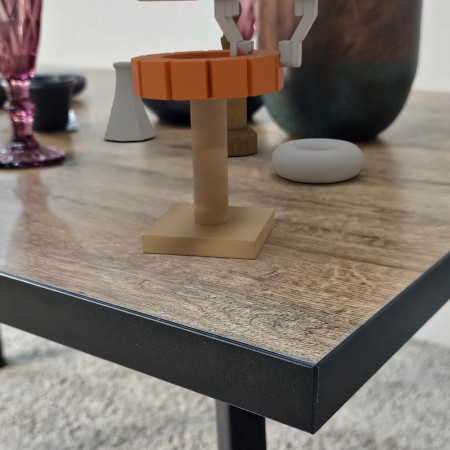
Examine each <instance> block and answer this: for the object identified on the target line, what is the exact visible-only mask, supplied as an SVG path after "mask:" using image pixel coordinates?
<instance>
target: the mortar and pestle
mask: <svg viewBox="0 0 450 450" xmlns="http://www.w3.org/2000/svg"><path fill="white" fill-rule="evenodd" d="M242 13H243V7H242V2H241V0H239V15H238V16H234V17H232V19H233V21H234V23H235V24H236V26H237V25H238V23H239V20H240V19H241V16H242ZM219 41H220V45H221V50H230V42H228V40H227V39H226V37H225V35H224V33H223V32H222V36H221V37H220V40H219ZM247 109H248V108H247V97H242V98H229V99H227V153H228V157H241V156H249V155H253V154H255V153H257V152H258V151H259V150H258V148H259V147H258V132H257V131H255V130H254V129H253V127H252V126H250V125H248V118H247V117H248V116H247V114H248V113H247V111H248V110H247Z"/></svg>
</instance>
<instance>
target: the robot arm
mask: <svg viewBox="0 0 450 450" xmlns="http://www.w3.org/2000/svg"><path fill="white" fill-rule="evenodd" d="M136 1H137V2H185V1H186V2H189V1H192V2H193V1H195V2H196V0H136ZM239 1H240V0H213V9H214V11H213V14H214V15H213V17H214V19H215V21H216V23H217V24H218V26H219V28H220V30H221V32H222V34H223V33H224V35H225V37H226V39H227V40H228V42H230V57H236V56H245V55H251V54H252V52H253V51H254V50H255V40H244V38H243V36H242V34H241V32H240V30H239V28H238V26H237V25H236V24H235V23H234V21H233V19H232V17H234V16H238V15H239ZM318 9H319V0H294V16H296V17H302V18H301V20H300V21H299V23H298V25H297V26H296V29H295V30H294V33H293V34H292V36H291V38H290V40H289V39H287V40H286V39H284V40H283V39H282V40H280V41H278V51H279V53H280V57H279V66H280V67H283V68H300V67H301V65H302V57H303V56H302V52H303V50H302V49H303V41H304V40H305V38H306V36H307V35H308V33H309V31H310V29H311V28H312V26H313V24H314V22H315V21H316V19H317V17H318V13H319V11H318Z"/></svg>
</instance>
